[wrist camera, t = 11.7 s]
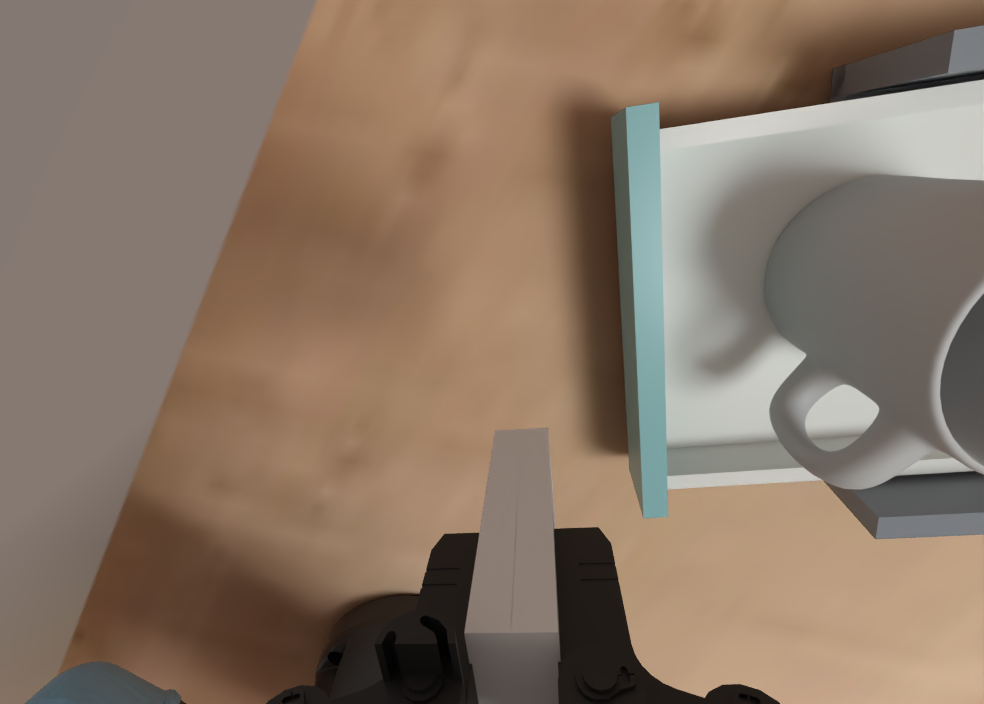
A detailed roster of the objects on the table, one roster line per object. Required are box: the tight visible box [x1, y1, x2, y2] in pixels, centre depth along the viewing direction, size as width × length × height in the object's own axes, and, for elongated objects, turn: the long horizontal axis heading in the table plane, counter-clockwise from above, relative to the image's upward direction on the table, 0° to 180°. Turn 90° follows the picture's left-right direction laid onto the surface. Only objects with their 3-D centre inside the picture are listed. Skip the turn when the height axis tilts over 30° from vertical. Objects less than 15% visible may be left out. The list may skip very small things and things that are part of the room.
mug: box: [764, 175, 984, 490], centre depth 19 cm, size 12×8×11 cm
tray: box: [611, 80, 984, 518], centre depth 22 cm, size 20×19×4 cm
